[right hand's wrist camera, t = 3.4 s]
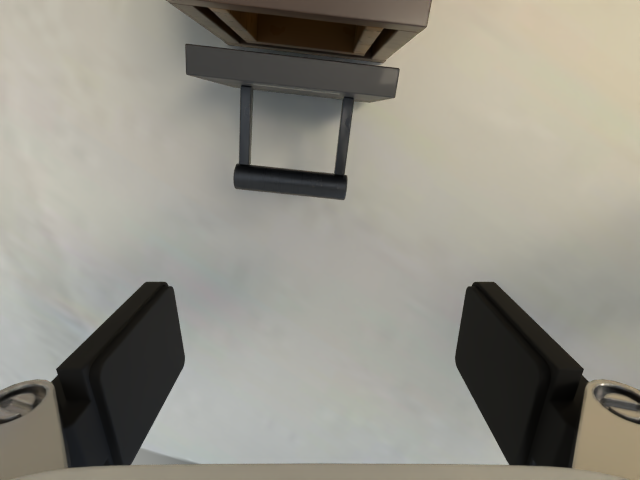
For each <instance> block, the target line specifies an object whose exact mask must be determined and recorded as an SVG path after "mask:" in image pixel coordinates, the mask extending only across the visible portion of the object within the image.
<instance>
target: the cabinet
mask: <svg viewBox="0 0 640 480" xmlns="http://www.w3.org/2000/svg"><path fill="white" fill-rule="evenodd" d="M166 1H168V2H169V3H171V4H172V5H173V6H175V7H176V8H178V9H179V10H180V11H182V12H183V13H185V14H186V15H188V16H189V17H190V18H192V19H193V20H195V21H196V22H197V23H199V24H200V25H202V26H203V27H205V28H206V29H207V30H209V31H210V32H212V33H213V34H214V35H216V36H217V37H219V38H220V39H222V40H223V41H224V42H225V43H226V44H228V45H234V46H243V47H252V48H260V49H269V50H277V51H286V52H295V53H303V54H312V55H321V56H329V57H338V58H347V59H355V60H364V61H373V62H381V63H384V62H385V61H386V59H388V58H389V57H390V56H391V55H392V54H394V53H395V52H396V51H397V50H399V49H400V48H401V47H402V46H403V45H405V44H406V43H407V42H408V41H410V40H411V39H412V38H413V37H414V36H416V35H417V34H418V33H419V32H421V31H422V30H424V29H425V28H426V27H427V23H428V18H429V12H430V7H431V1H432V0H166ZM208 7H210V8H218V9H227V10H235V11H243V12H252V13H260V14H269V15H277V16H286V17H294V18H303V19H311V20H319V21H328V22H336V23H345V24H353V25H362V26H370V27H379V28H383V30H382V31H381V33H380V34H379V35H378V37H377V38H376V39H375V41H374V42H373V44H372V45H371V46H370V48H369V49H368V50H367V52H366V53H365V55H364V56H359V55H351V54H342V53H333V52H325V51H316V50H307V49H299V48H290V47H282V46H273V45H264V44H256V43H247V42H246V41H245V40H244V39H242V38H241V37H240V36H239V35H238V34H237V33H236V32H235V31H234V30H232V29H231V28H230V27H229V26H228V25H227V24H226V23H225V22H224V21H223V20H221V19H220V18H219V17H218V16H217V15H216V14H215V13H214V12H213V11H211V10H210V9H209V8H208Z"/></svg>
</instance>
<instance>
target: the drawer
mask: <svg viewBox="0 0 640 480" xmlns="http://www.w3.org/2000/svg"><path fill="white" fill-rule="evenodd" d="M208 8H209V9H210V10H211V11H213V12H214V13H215V14H216V15H217V16H218V17H219V18H220V19H221V20H223V21H224V22H225V23H226V24H227V25H228V26H229V27H230V28H231V29H232V30H234V31H235V32H236V33H237V34H238V35H239V36H240V37H241V38H242V39H244V40H245V41H246V42H247V43H256V44H264V45H273V46H282V47H290V48H299V49H307V50H316V51H325V52H333V53H342V54H351V55H359V56H364V55H365V53H366V52H367V50H368V49H369V48H370V46H371V45H372V44H373V42H374V41H375V39H376V38H377V37H378V35H379V34H380V33H381V31H382V30H383V28H379V27H370V26H362V25H353V24H345V23H336V22H328V21H319V20H311V19H303V18H294V17H286V16H277V15H269V14H260V13H252V12H243V11H235V10H227V9H218V8H210V7H208ZM185 48H186V74H187V75H190V76H194V77H197V78H201V79H205V80H209V81H212V82H216V83H220V84H224V85H227V86H231V87H236V88H241V99H240V146H239V164H236V166H235V170H234V187H235V188H236V189H242V190H252V191H261V192H271V193H281V194H290V195H300V196H310V197H319V198H329V199H339V200H344V199H345V196H346V190H347V175H344V174H345V166H346V158H347V151H348V143H349V135H350V127H351V120H352V112H353V104H354V101H360V102H369V103H370V102H375V101H380V100H386V99H391V98H395V94H396V88H397V82H398V76H399V68H392V67H383V66H374V65H365V64H357V63H348V62H339V61H331V60H322V59H313V58H305V57H296V56H287V55H279V54H270V53H261V52H253V51H244V50H235V49H227V48H218V47H209V46H201V45H192V44H186V45H185ZM253 90H262V91H271V92H280V93H289V94H298V95H307V96H316V97H325V98H334V99H343V102H342V111H341V119H340V128H339V136H338V145H337V153H336V162H335V170H334V173H335V174H331V173H322V172H312V171H303V170H293V169H284V168H275V167H265V166H256V165H250V164H251V140H252V110H253Z"/></svg>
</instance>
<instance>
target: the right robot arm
mask: <svg viewBox="0 0 640 480" xmlns="http://www.w3.org/2000/svg"><path fill="white" fill-rule="evenodd" d="M184 362H185V354H184V348H183V342H182V336H181V330H180V324H179V318H178V312H177V306H176V300H175V294H174V289H173V287H171V286H168V284H167V283H166V282H146V283H144V284H143V285H142V286H141V287H140V288H139V289H138V290H137V291H136V292H135V293H134V294H133V295H132V296H131V297H130V298H129V299H128V300H127V301H126V302H125V303H124V304H123V305H121V306H120V307H119V308H118V309H117V310H116V311H115V312H114V313H113V314H112V315H111V316H110V317H109V318H108V319H107V320H106V321H105V322H104V323H103V324H102V325H101V326H100V327H99V328H98V329H97V330H96V331H95V332H94V333H93V334H92V335H91V336H90V337H89V338H88V339H87V340H86V341H85V342H84V343H82V344H81V345H80V346H79V347H78V348H77V349H76V350H75V351H74V352H73V353H72V354H71V355H70V356H69V357H68V358H67V359H66V360H65V361H64V362H63V363H62V364H61V365H60V366H59V367H58V368H57V369H56V370H57V373H58V376H57V377H56V378H55V379H54V380H53V381H52V382H49V381H47V380H38V379H36V380H30V381H24V382H21V383H18V384H14V385H12V386H10V387H7V388H5V389H3V390H1V391H0V480H640V391H639V390H637V389H635V388H633V387H630V386H628V385H626V384H622V383H619V382H616V381H610V380H604V379H602V380H593V381H591V382H588V381H587V380H586V379H585V378H584V377H583V376H582V373H583V370H584V369H583V368H582V367H581V366H580V365H579V364H578V363H577V362H576V361H575V360H574V359H573V358H572V357H571V356H570V355H569V354H568V353H567V352H566V351H565V350H564V349H563V348H562V347H561V346H560V345H559V344H558V343H556V342H555V341H554V340H553V339H552V338H551V337H550V336H549V335H548V334H547V333H546V332H545V331H544V330H543V329H542V328H541V327H540V326H539V325H538V324H537V323H536V322H535V321H534V320H533V319H532V318H531V317H530V316H529V315H528V314H527V313H526V312H525V311H524V310H523V309H522V308H521V307H520V306H518V305H517V304H516V303H515V302H514V301H513V300H512V299H511V298H510V297H509V296H508V295H507V294H506V293H505V292H504V291H503V290H502V289H501V288H500V287H499V286H498V285H497V284H496V283H494V282H474V283H473V284H472V286H469V287H467V289H466V294H465V300H464V306H463V312H462V318H461V324H460V330H459V336H458V342H457V348H456V354H455V362H456V366H457V369H458V370H459V372H460V374H461V376H462V378H463V380H464V382H465V384H466V385H467V387H468V389H469V391H470V393H471V395H472V397H473V398H474V400H475V402H476V404H477V406H478V408H479V410H480V411H481V413H482V415H483V417H484V419H485V421H486V423H487V425H488V426H489V428H490V430H491V432H492V434H493V436H494V438H495V439H496V441H497V443H498V445H499V447H500V449H501V451H502V453H503V454H504V456H505V458H506V460H507V462H508V463H509V465H468V464H172V465H131V463H132V462H133V460H134V458H135V456H136V454H137V453H138V451H139V449H140V447H141V445H142V443H143V441H144V439H145V438H146V436H147V434H148V432H149V430H150V428H151V426H152V425H153V423H154V421H155V419H156V417H157V415H158V413H159V411H160V410H161V408H162V406H163V404H164V402H165V400H166V398H167V397H168V395H169V393H170V391H171V389H172V387H173V385H174V384H175V382H176V380H177V378H178V376H179V374H180V372H181V370H182V369H183V366H184Z"/></svg>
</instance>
